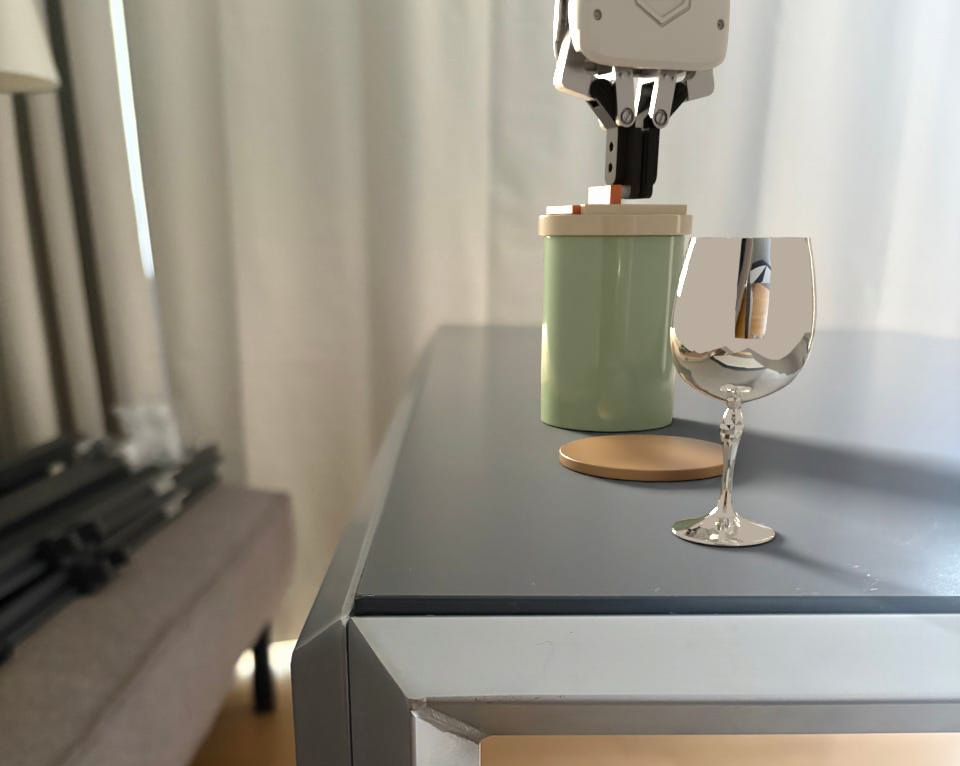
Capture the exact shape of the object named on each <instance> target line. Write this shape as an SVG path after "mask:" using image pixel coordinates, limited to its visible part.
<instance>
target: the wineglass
mask: <svg viewBox="0 0 960 766" xmlns="http://www.w3.org/2000/svg"><path fill="white" fill-rule="evenodd" d="M688 240H689V241H688V243H687V246H686V249H685V252H684V259H683V262H682V266H681V269H680V273H679V276H678V280H677V284H676V289H675V293H674V298H673V304H672V310H671V317H670V326H669V334H670V351H671V356H672V360H673V363H674V366H675V368H676V373H678V376H680V378H681V379H682V380H683V381H684V382H685V383H686V384H688V385H689V386H690V387H691V388H692V389H695V390H696V391H698V392H699V393H701V394H703V395H705V396H707V397H709V398H711V399H714V400H717V401H720V402H723V403H725V404H726V406H727V407H726V408H727V409H726V410H725V412H723V414H722V416H721V420H720V424H719V438H720V441H721V445H722V447H723V474H722V475H721V484H720V492H719V496H718V500H717V502H716V504H715V506H714V507H713V509H712V510H711V511H710V512H709V513H707V514H704V515H698V516H691V517H690V516H689V517H685V518H682V519H678V520H677V521H675V522H674V523H672V524H671V527H670V531H671V532H672V534H673V535H675V536H677V537H679V538H681V539H683V540H686V541H689V542H693V543H697V544H703V545H710V546H719V547H749V546H757V545H761V544H766V543H768V542H770V541H771V540H773V539H774V538H775V536H776V533H775V530H774V529H773V528H772V527H771V526H769V525H767V524H765V523H763V522H760V521H757V520H754V519H750V518H745V517H742V516H741V515H740V514H739V513H738V512H737V511H736V509H735V507H734V504H733V503H734V502H733V496H732V495H733V493H732V491H733V481H734V479H733V478H734V469H735V468H734V462H735V457H736V458H737V453H738V450H739V445H740V443H741V440H742V438H743V434H744V431H745V418H744V415H743V412H742V410H741V408H742V406H743V404H745V403H750V402H753V401H756V400H760V399H763V398H765V397H768V396H770V395H772V394H775V393H777V392H779V391H780V390H782V389H784V388H786V387H787V386H789V385H790V384H791V383H792V382H793V381H795V379H797V377H798V376H799V375H800V374H801V373H802V371H803V370H804V368H805V366H806V364H807V362H808V361H809V358H810V355H811V352H812V348H813V345H814V340H815V336H816V325H817V316H818V294H817V293H818V292H817V278H816V264H815V256H814V251H813V247H812V246H813V245H812V238H811V237H803V236H802V237H789V236H787V237H782V236H781V237H776V236H775V237H774V236H772V237H771V236H769V237H768V236H764V237H758V236H757V237H755V236H754V237H750V236H749V237H746V236H745V237H742V236H741V237H739V236H737V237H734V236H733V237H729V236H727V237H724V236H723V237H689V239H688Z"/></svg>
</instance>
